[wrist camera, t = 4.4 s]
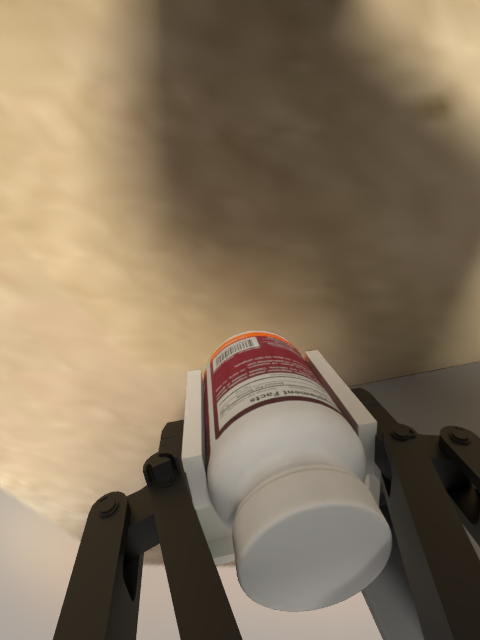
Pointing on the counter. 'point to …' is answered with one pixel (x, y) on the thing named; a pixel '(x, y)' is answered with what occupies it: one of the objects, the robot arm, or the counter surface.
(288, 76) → the counter surface
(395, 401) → the housing
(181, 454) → the robot arm
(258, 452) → the pill bottle
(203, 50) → the counter surface
